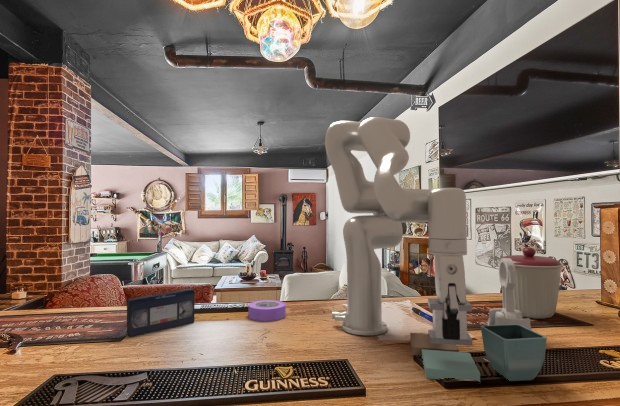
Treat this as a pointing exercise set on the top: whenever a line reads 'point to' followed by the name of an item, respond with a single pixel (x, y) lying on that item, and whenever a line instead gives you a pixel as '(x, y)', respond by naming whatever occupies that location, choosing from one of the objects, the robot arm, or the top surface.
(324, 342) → the top surface
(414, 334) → the stand
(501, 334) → the flower pot
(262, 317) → the masking tape
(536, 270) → the canister
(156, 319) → the vhs cassette tape
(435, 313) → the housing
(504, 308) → the engine component
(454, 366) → the stand
